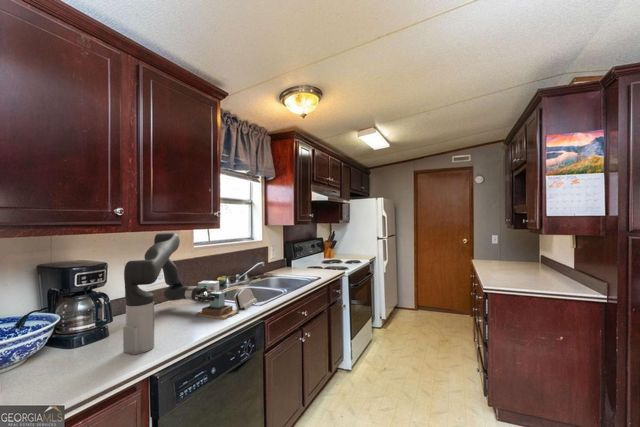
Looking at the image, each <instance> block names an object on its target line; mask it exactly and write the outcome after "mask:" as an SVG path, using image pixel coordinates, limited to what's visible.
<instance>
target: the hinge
mask: <svg viewBox="0 0 640 427" xmlns="http://www.w3.org/2000/svg"><path fill="white" fill-rule="evenodd" d="M233 300H234V304H235V309H236V311H239V310H240V309H243V310H245V311H246V310H247V309H249V308H251V307H252V306H253V305H254V304H253V303H255V304H256V303H258V299H257V298H255V296H254V294H253V292H252V288H243V289H240V290H239V291H237V292H236V293H235V294H234V296H233ZM252 304H253V305H252ZM251 305H252V306H251Z"/></svg>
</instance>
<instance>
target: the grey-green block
mask: <svg viewBox="0 0 640 427" xmlns="http://www.w3.org/2000/svg"><path fill="white" fill-rule="evenodd" d="M210 296H214V297H215V300H214V301H209V306H210V309H216V310H221V309H223V308H225V305H226V304H225V301H226V300H225V298H226V297H225V291H223V292H219V291H214V292H211V293H210Z"/></svg>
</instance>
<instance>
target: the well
mask: <svg viewBox="0 0 640 427" xmlns="http://www.w3.org/2000/svg"><path fill="white" fill-rule="evenodd" d="M239 312H240V311H239V310H235V309H233V305H228V304H225V308H223V309H221V310H216V309H210V305H208V306H205V307H202V308H201V310H200V311H198V312H196V313H195V316H199V317H205V318H210V319H211V318H212V319H217V318H218V320H226V319H228V318H231V317H233V316H235V315H237V314H240V313H239Z"/></svg>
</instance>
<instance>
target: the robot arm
mask: <svg viewBox="0 0 640 427" xmlns="http://www.w3.org/2000/svg"><path fill="white" fill-rule="evenodd" d="M180 243H181V240H180V236H179V235H178V233H175V232H165V233H163V232H161V233H157V234H156V235H155V236H154V240H153V245H151V246H149V248H148V249H147V250H146V252H145V254H144V259H140V260H139V259H136V260H128V261H127V262H126V263H125V265H124V269H123V270H124V271H123V280H124V298H125V325H123V327H122V334H123V336H122V342H123V343H122V347H123V349H122V350H123V353H125V354H130V355H133V356H134V355H138V354H142V353H145V352H146V353H147V352H149V351H151V350H152V349H154V348H155V295H154V293H152V292H150V291H146V290H144V289H141V288H140V287H139V286H145V285H146V286H147V285H152V284H154V283H155V282H156V281H157V279H158V278H159V276H160V273H161V271H162V272H163V277H164V278H163V279H164V283H165V284H166V285H167V286H168V287H167V288H166V289H164V291H163V297H164V298H165V299H166V300H168V301H170V302H171V301H173V302H174V301H180V300H188V301H192V302H197V303H198V302H200V303H202V302H203V303H204V302H210V301H214V300H215V297H214V296H210V293H211V292H214V291H219V292H225V291H223V289H219V290H213V291H211V290H209V291H208V290H207V289H206V288H205V287H198V285H197V286H196V285H195V286H193V285H191V286H190V285H184V284H183V283H182V281H181V279H180V274H179V268H178V267H177V265H176V264H175V263H174V262H173V261H172V260H171V259H170V257H171V256H172V255H173V253H176V251H177V250H178V249H179V246H180ZM225 298H227V292H225ZM208 300H209V301H208Z"/></svg>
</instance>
